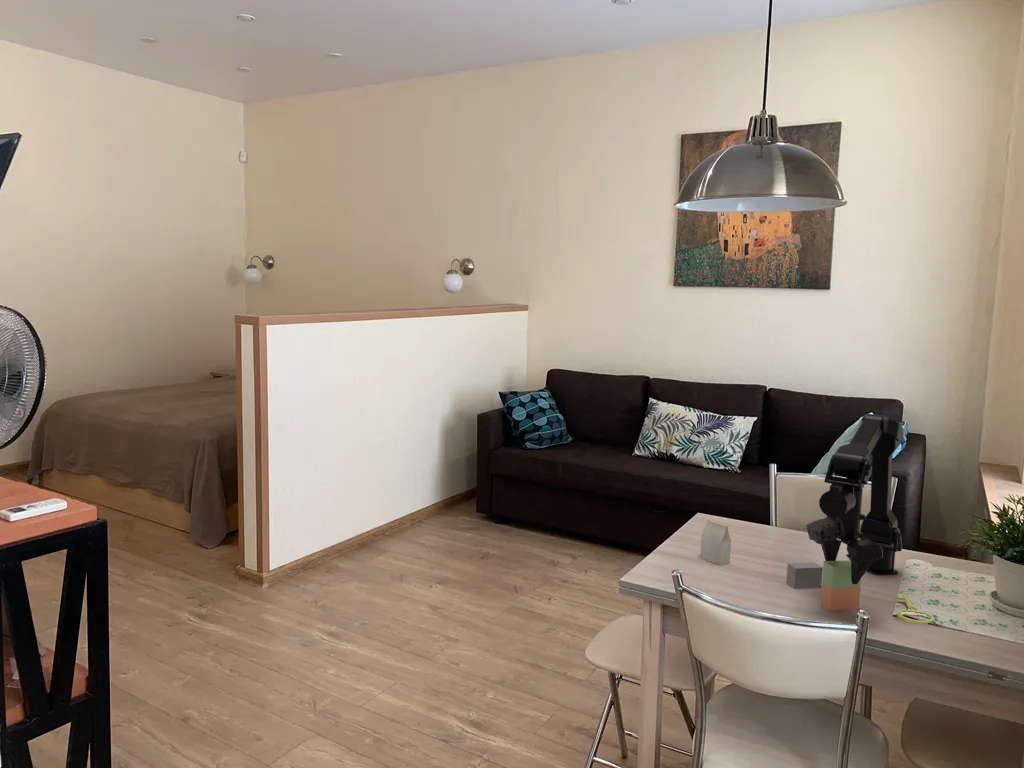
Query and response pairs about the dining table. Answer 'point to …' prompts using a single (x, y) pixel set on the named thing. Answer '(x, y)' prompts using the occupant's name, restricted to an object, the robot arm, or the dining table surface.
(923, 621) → the key
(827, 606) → the rust brick
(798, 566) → the gray brick
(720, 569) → the dining table surface
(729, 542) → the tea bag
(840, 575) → the green brick
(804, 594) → the dining table surface
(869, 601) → the dining table surface
